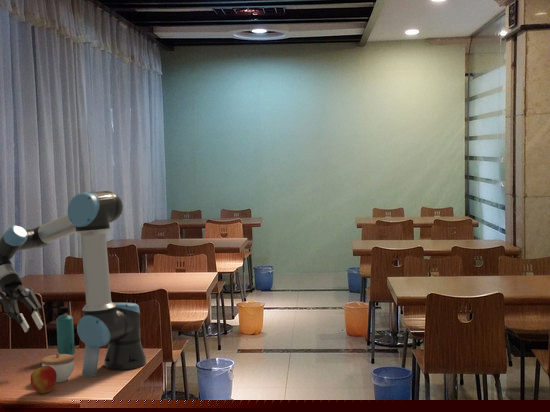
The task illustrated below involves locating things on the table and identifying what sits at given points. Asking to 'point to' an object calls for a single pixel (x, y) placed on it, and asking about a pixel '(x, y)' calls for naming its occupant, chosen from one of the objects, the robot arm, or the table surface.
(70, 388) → the table surface
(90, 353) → the post
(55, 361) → the lidded jar
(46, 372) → the apple
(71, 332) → the beverage bottle
